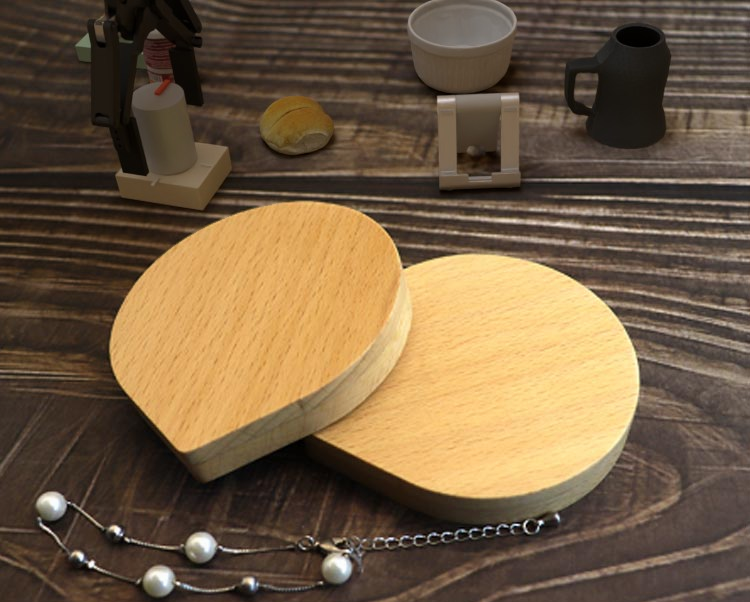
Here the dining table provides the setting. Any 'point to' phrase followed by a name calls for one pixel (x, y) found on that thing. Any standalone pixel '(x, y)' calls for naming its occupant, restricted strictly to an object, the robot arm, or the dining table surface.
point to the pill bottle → (158, 57)
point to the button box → (85, 51)
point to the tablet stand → (478, 137)
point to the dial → (164, 127)
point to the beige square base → (181, 181)
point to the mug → (625, 87)
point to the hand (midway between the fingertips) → (165, 137)
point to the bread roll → (296, 125)
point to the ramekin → (461, 43)
